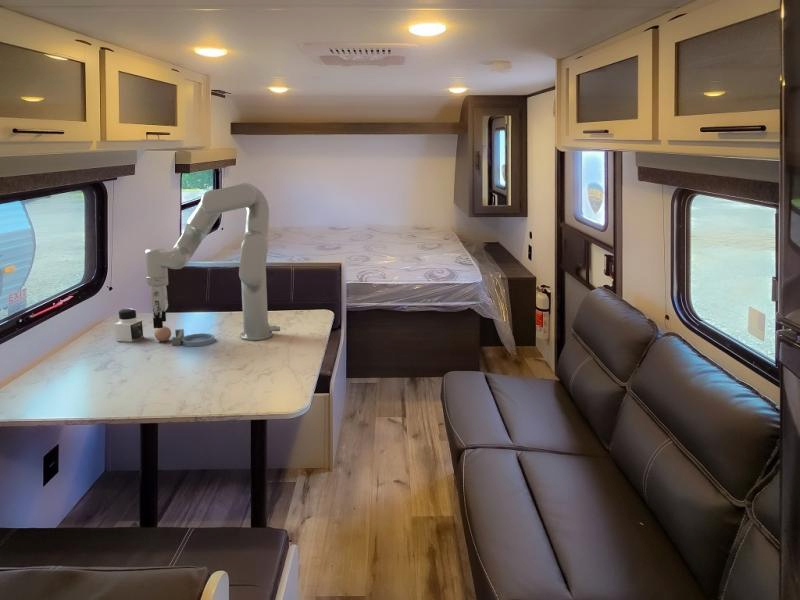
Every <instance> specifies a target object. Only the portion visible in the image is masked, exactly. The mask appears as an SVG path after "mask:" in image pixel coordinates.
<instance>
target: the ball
mask: <svg viewBox="0 0 800 600" xmlns="http://www.w3.org/2000/svg"><path fill="white" fill-rule="evenodd" d="M154 337H155V339H156V340H157V341H159V342H167V341H168V340H170V338H172V331H171V329H170V327H168V326H166V325H163V328H155V330H154Z"/></svg>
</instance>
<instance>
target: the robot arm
mask: <svg viewBox="0 0 800 600" xmlns="http://www.w3.org/2000/svg"><path fill="white" fill-rule="evenodd" d="M239 209H246V210H245V212H246V215H245V229H244V235H243V238H242V240H241V246H240V257H239V268H238V276H239V279H240V281H241V282H240V283H241V302H242V303H241V305H242V307H241V309H242V320H243V323H242V324H243V331H242V332H240V334H239V338H241V339H242V340H244V341H245V340H246V341H262V340H267V339H270V338H271V337H272V336H273V335H274V334H273V332H281V326H279V325H278V326H277V325H270V323H269V315H268V313H269V312H268V293H267V291H268V290H267V269H266V268H267V267H266V266H267V258H268V257H267V256H268V248H269V241H268V240H269V239H268V238H269V236H268V234H269V225H270V224H269V221H270V208H269V202H268V200H267V198H266V196H265V195H264V193H263V192H262V191H261V190H260V189H259V188H257V187H256V186H255V185H253V184H251V183H247V182H242V183H240V184H236V185H231V186H226V187H222V188H218V189H209V190H207V191H205V192H204V193H203V194H202V196H201V198H200V201H199V202H198V204H197V206H196V208H195V209H194V210H193V212H192V213H191V215H190V216H189V218H188V219H187V222H186V223H185V228H184V230H183V232H182V234H181V236H180V237H179V239H178V240H177V242H176V243H175V245H174V246H173V248H170V249H165V248H162V247H152V248H148V249H147V248H146V249H145V252H144V255H145V257H144V258H145V272H146V273H145V274H146V275H145V276H146V286H148V287H150V292H149V293H150V308H151V312H152V320H153V321H152V323H153V328H154V329H157V328H163V326H164V322H166V321H167V313H166V311H167V309H168V308H169V302H168V301H169V300H168V290H167V289H168V288H167V286H169V273H168V272H169V270H168V269H171V270H181V269H182V268H184V267H185V266H186V265H187V264H188V263H189V262H190V260H191V258H192V257H193V256H194V255H195V252H196V251H197V250H198V248H199V247H200V245H201V243H202V242H203V240H204V239H205V238H206V237H207V235H208V234H209V233H210V231H211V230H212V228H213V227H214V224H215V223H217V222H216V221H217V220H218V219H219V218H220V217H221V214H222V213H226V212H231V211H235V210H239Z"/></svg>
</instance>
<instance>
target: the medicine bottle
mask: <svg viewBox="0 0 800 600" xmlns="http://www.w3.org/2000/svg"><path fill="white" fill-rule="evenodd" d="M118 318H119V321H118V322H115V323H114V330H115V331H114V332H115V340H116V342H125V343H126V342H127V343H133V342H136V341H138V340H140V339H142V337H143V338H144V327H143V321H142V320H141V319H137V311H136V309H134V308H129V307H128V308H122V309H120V310H119V311H118Z"/></svg>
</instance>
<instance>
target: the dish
mask: <svg viewBox="0 0 800 600" xmlns="http://www.w3.org/2000/svg"><path fill="white" fill-rule="evenodd" d="M214 342H215V335H213V334H212V333H204V332H203V333H201V332H200V333H192V334H187V335H184V337H182V339H181V343H182V344H181V346H187V347H202V346H206V345H210V344H213V343H214Z"/></svg>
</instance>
